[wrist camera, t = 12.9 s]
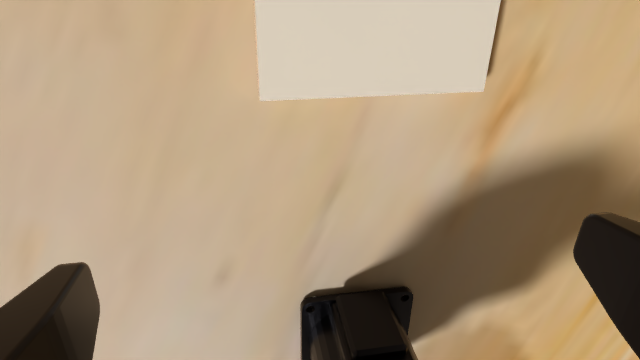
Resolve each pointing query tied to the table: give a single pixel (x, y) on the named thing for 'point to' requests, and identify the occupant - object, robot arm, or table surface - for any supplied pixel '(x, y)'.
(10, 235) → the table surface
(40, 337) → the robot arm
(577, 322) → the table surface
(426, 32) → the stone coaster
